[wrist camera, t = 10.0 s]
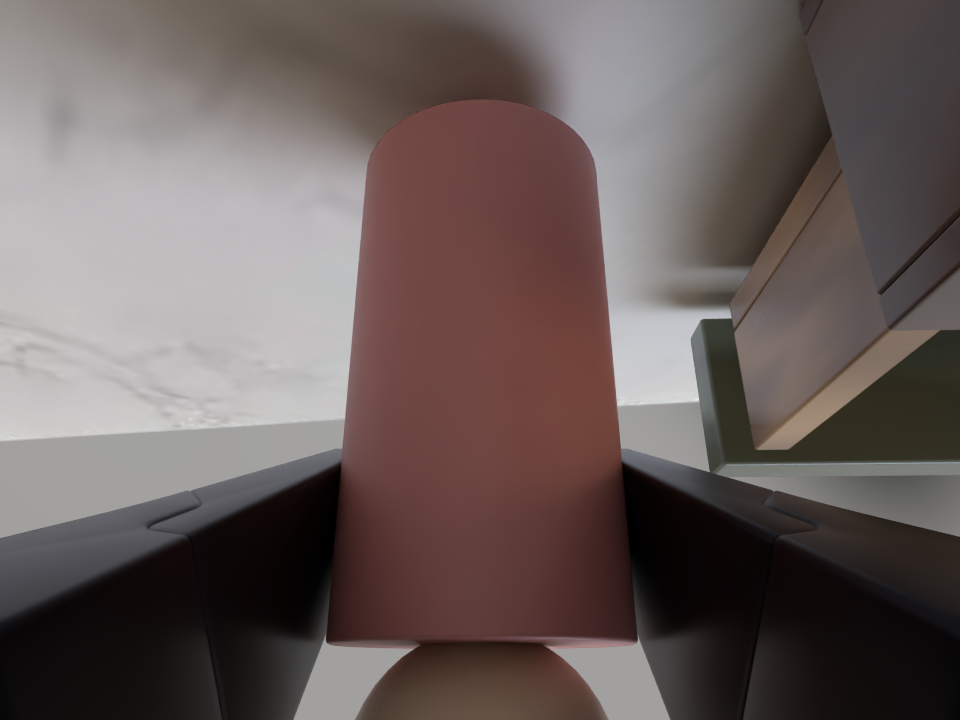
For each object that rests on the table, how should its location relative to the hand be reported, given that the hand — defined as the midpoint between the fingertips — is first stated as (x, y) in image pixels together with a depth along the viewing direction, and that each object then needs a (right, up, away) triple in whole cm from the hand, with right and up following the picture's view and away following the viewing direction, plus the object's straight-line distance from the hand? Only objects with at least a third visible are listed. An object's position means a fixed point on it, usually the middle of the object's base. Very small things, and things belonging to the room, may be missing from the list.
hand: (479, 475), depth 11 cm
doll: (0, +5, +1) cm, 5 cm away
